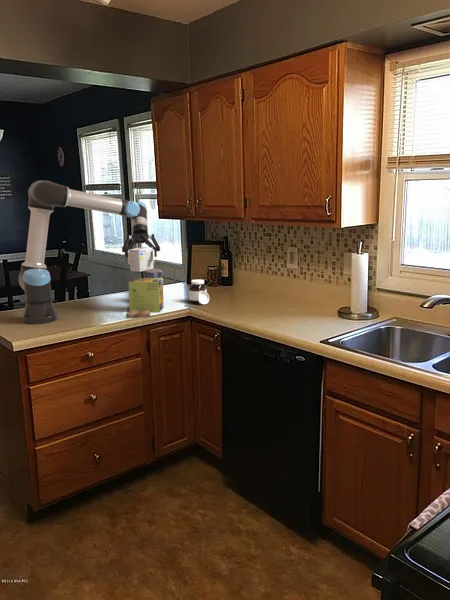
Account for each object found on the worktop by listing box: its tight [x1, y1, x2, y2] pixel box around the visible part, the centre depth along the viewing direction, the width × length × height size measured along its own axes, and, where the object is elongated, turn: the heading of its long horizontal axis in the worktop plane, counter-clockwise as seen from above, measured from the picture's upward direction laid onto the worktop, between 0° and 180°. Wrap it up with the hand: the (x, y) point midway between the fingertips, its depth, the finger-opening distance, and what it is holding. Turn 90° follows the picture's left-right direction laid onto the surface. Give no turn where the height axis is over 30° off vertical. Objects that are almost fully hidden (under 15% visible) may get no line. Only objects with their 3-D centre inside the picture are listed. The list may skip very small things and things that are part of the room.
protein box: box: [128, 277, 165, 313], centre depth 264 cm, size 10×15×16 cm
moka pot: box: [140, 265, 164, 278], centre depth 280 cm, size 10×15×20 cm, turn 60°
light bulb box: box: [129, 246, 154, 273], centre depth 261 cm, size 11×7×11 cm, turn 148°
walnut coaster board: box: [128, 310, 151, 319], centre depth 254 cm, size 10×8×2 cm
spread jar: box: [188, 279, 210, 305], centre depth 279 cm, size 12×11×12 cm
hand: (141, 262), depth 259 cm, fingers closed on light bulb box, 11 cm apart
